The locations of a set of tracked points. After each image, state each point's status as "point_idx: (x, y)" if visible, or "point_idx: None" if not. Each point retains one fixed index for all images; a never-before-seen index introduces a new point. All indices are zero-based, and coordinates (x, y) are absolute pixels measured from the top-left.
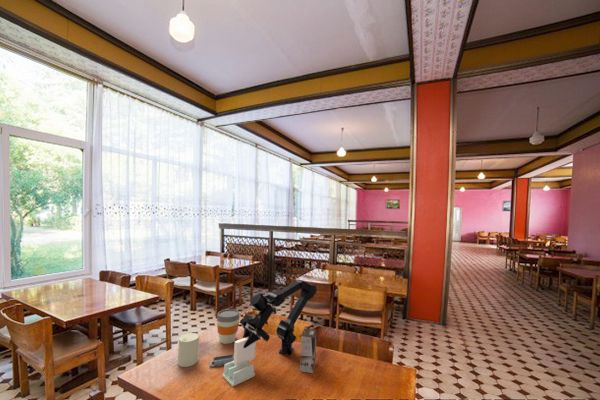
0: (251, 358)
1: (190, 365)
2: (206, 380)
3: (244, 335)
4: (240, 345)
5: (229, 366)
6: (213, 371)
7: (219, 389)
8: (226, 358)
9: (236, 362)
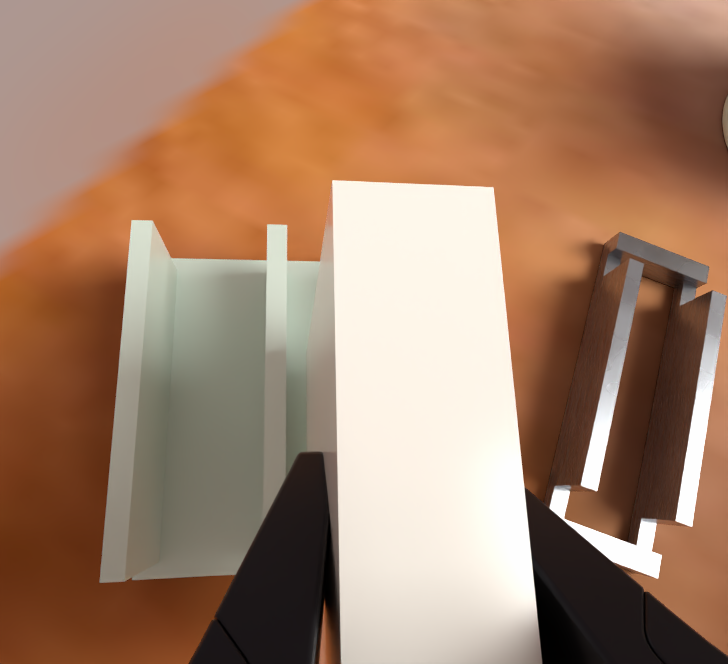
0: None
1: (725, 128)
2: (425, 137)
3: (640, 651)
4: (325, 344)
5: None
6: (524, 244)
7: (218, 160)
8: (662, 440)
9: (307, 346)
